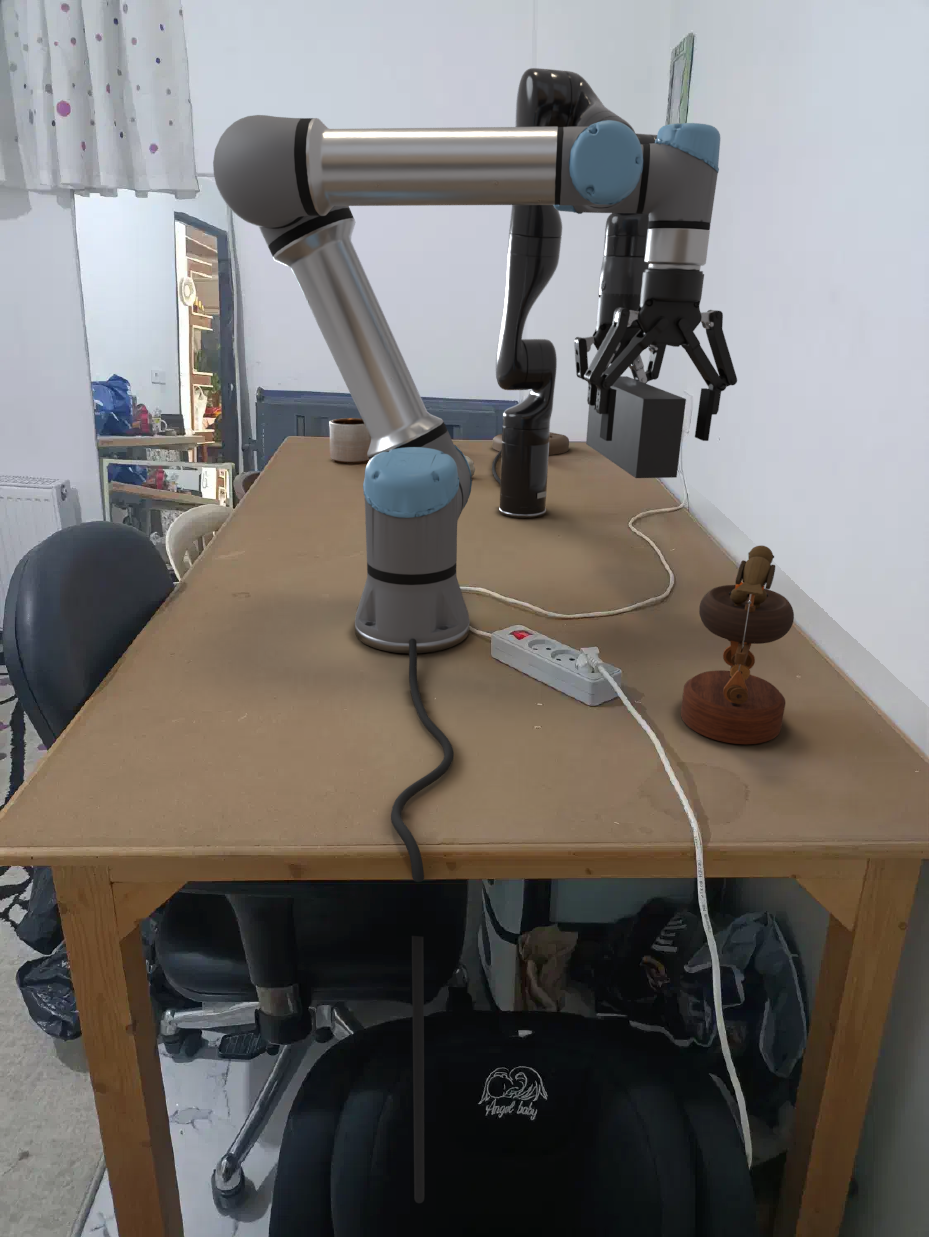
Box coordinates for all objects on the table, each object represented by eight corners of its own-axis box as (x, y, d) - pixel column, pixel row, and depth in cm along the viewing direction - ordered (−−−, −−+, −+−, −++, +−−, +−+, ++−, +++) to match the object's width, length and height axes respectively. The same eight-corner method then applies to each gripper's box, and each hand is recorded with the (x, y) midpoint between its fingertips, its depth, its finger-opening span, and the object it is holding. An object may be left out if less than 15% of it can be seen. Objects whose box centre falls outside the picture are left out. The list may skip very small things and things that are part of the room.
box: (676, 477, 115) (686, 398, 111) (635, 478, 114) (643, 399, 110) (621, 443, 136) (627, 376, 132) (586, 444, 135) (591, 376, 131)
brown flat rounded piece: (498, 464, 212) (499, 447, 210) (490, 443, 238) (490, 428, 236) (581, 464, 213) (583, 447, 211) (564, 443, 239) (565, 428, 237)
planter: (327, 456, 217) (325, 418, 214) (369, 454, 220) (368, 417, 217) (334, 465, 208) (332, 425, 204) (377, 463, 211) (376, 424, 207)
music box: (801, 756, 85) (818, 567, 77) (689, 756, 86) (695, 570, 79) (768, 687, 99) (780, 521, 91) (672, 688, 100) (676, 525, 93)
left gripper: (752, 271, 111) (727, 434, 119) (569, 264, 107) (556, 433, 115) (781, 271, 104) (753, 444, 112) (587, 264, 100) (572, 444, 108)
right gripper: (662, 290, 127) (650, 404, 134) (570, 289, 125) (562, 405, 132) (681, 292, 120) (668, 412, 127) (584, 291, 118) (576, 413, 125)
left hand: (653, 439), depth 113 cm, fingers open, 13 cm apart
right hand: (614, 408), depth 129 cm, fingers closed on box, 6 cm apart
